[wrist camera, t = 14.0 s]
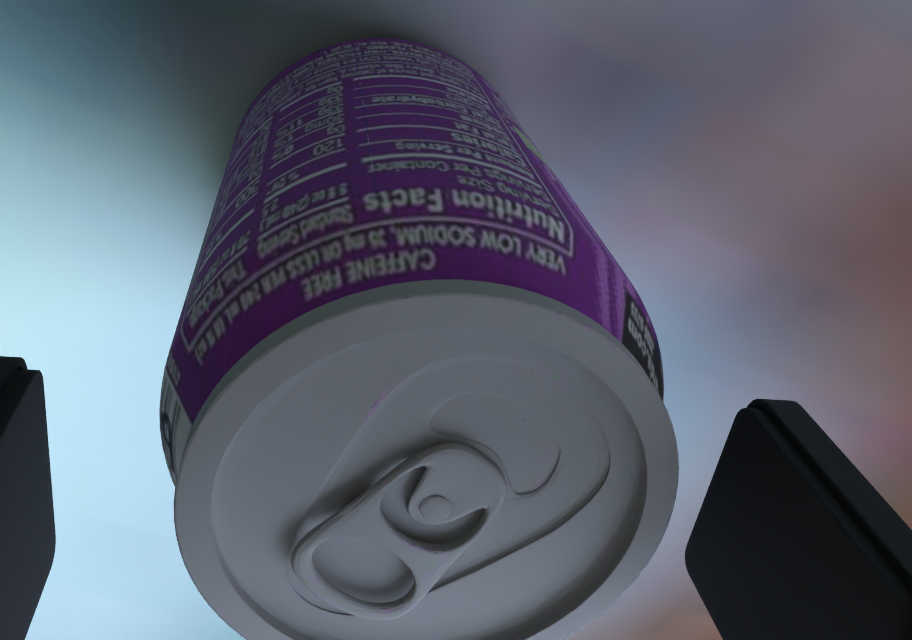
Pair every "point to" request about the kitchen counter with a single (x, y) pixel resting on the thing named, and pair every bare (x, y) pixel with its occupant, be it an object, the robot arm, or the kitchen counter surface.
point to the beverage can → (409, 372)
